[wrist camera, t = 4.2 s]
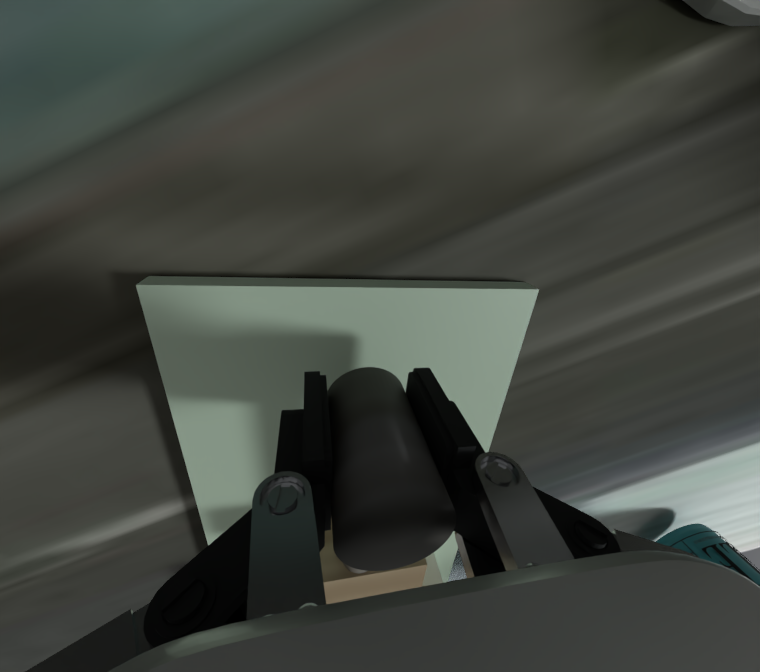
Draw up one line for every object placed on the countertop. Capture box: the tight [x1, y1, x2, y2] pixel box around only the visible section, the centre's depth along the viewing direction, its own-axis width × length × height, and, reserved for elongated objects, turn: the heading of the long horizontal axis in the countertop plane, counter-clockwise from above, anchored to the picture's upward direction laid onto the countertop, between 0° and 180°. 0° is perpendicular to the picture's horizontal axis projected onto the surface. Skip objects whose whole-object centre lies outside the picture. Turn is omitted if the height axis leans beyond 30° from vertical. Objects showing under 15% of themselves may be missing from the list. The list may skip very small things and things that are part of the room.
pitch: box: [136, 276, 539, 583], centre depth 18 cm, size 25×15×1 cm, turn 176°
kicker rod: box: [320, 367, 456, 604], centre depth 12 cm, size 12×6×7 cm, turn 176°
